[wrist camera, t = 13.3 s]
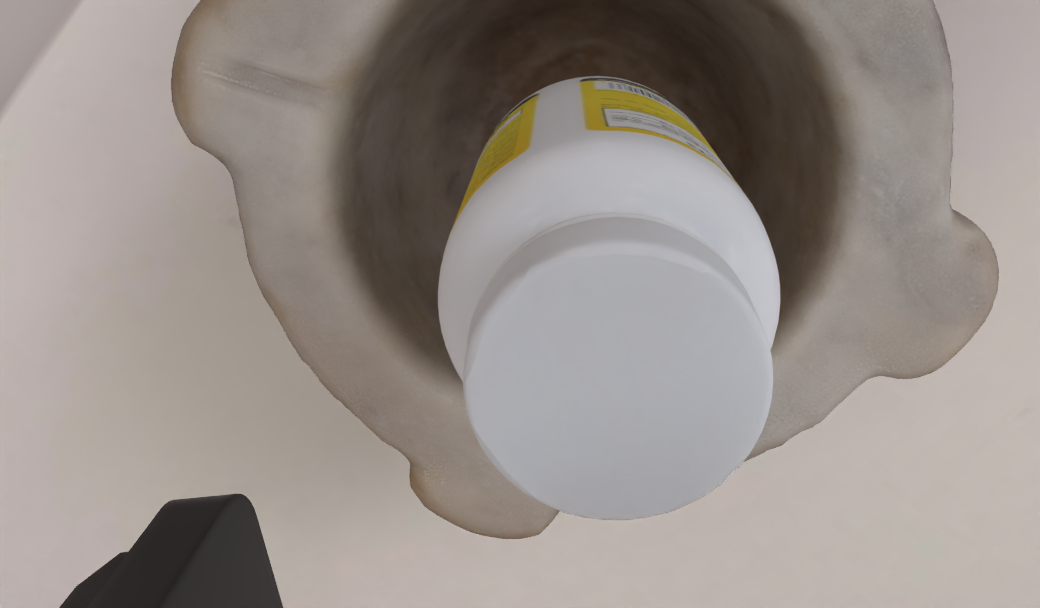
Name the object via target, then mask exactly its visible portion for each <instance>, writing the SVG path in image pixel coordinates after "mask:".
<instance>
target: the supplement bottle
mask: <svg viewBox="0 0 1040 608" xmlns="http://www.w3.org/2000/svg"><path fill="white" fill-rule="evenodd" d="M779 310H780V281H779V273H778V268H777V264H776V259H775V255H774V252H773V249H772V246H771V243H770V240H769V238H768V235H767V233H766V230H765V228H764V226H763V224H762V222H761V219H760V217H759V216H758V214H757V212H756V210H755V208H754V207H753V205H752V203H751V202H750V200H749V199H748V198H747V196H746V195H745V193H744V192H743V191H742V189H741V188H740V186H739V185H738V184H737V183H736V181H735V180H734V179H733V177H732V175H731V174H730V173H729V171H728V170H727V169H726V167H725V166H724V164H723V163H722V162H721V160H720V159H719V158H718V156H717V155H716V153H715V152H714V150H713V149H712V148H711V146H710V145H709V144H708V142H707V141H706V139H705V138H704V137H703V135H702V134H701V132H700V131H699V130H698V128H697V127H696V125H695V124H694V123H693V121H692V120H691V119H690V118H689V117H688V116H687V115H686V114H685V113H684V112H683V111H682V110H681V109H679V108H678V107H677V106H676V105H675V104H674V103H672V102H671V101H669V100H668V99H667V98H665V97H664V96H662V95H661V94H659V93H657V92H656V91H654V90H652V89H650V88H648V87H646V86H643V85H641V84H638V83H635V82H632V81H629V80H625V79H621V78H614V77H604V76H588V77H578V78H573V79H568V80H564V81H560V82H557V83H554V84H552V85H549V86H547V87H545V88H543V89H541V90H539V91H537V92H535V93H533V94H532V95H530V96H529V97H527V98H525V99H524V100H523V101H521V102H520V103H519V104H518V105H516V106H515V107H514V108H513V109H512V110H511V111H510V112H509V113H508V114H507V115H506V116H505V117H504V118H503V119H502V120H501V122H500V123H499V124H498V125H497V126H496V128H495V129H494V131H493V132H492V134H491V135H490V137H489V139H488V140H487V142H486V144H485V146H484V148H483V150H482V152H481V154H480V157H479V159H478V162H477V164H476V167H475V170H474V173H473V176H472V178H471V181H470V183H469V186H468V188H467V191H466V193H465V196H464V199H463V201H462V204H461V207H460V209H459V212H458V214H457V217H456V219H455V222H454V225H453V227H452V230H451V232H450V235H449V238H448V241H447V244H446V248H445V251H444V255H443V260H442V264H441V268H440V276H439V285H438V311H439V320H440V326H441V332H442V335H443V339H444V342H445V346H446V349H447V351H448V354H449V356H450V358H451V360H452V363H453V365H454V367H455V369H456V371H457V373H458V375H459V377H460V378H461V380H462V382H463V392H464V399H465V406H466V412H467V416H468V419H469V422H470V425H471V428H472V430H473V432H474V434H475V436H476V438H477V440H478V442H479V445H480V447H481V448H482V450H483V451H484V453H485V454H486V456H487V457H488V459H489V460H490V461H491V463H492V464H493V465H494V466H495V467H496V469H497V470H498V471H499V472H500V473H501V474H502V475H503V476H504V477H505V478H506V479H507V480H508V481H509V482H511V483H512V484H513V485H515V486H516V487H517V488H518V489H520V490H521V491H522V492H523V493H525V494H526V495H528V496H530V497H532V498H534V499H535V500H537V501H539V502H541V503H543V504H545V505H547V506H550V507H552V508H554V509H557V510H559V511H562V512H564V513H569V514H573V515H577V516H581V517H586V518H594V519H602V520H630V519H639V518H646V517H651V516H655V515H659V514H663V513H667V512H670V511H673V510H676V509H678V508H680V507H683V506H685V505H687V504H689V503H692V502H694V501H695V500H697V499H699V498H701V497H703V496H705V495H706V494H708V493H709V492H710V491H712V490H713V489H715V488H716V487H717V486H719V485H720V484H721V483H723V482H724V481H725V480H726V479H727V478H728V477H729V476H730V475H731V474H732V473H733V472H734V471H735V470H736V469H738V468H739V467H740V465H741V464H742V463H743V461H744V460H745V459H746V458H747V456H748V455H749V454H750V452H751V451H752V449H753V448H754V446H755V444H756V442H757V440H758V438H759V436H760V435H761V433H762V430H763V428H764V425H765V422H766V419H767V417H768V413H769V409H770V405H771V400H772V390H773V364H772V356H771V351H770V350H771V348H772V345H773V341H774V337H775V333H776V329H777V325H778V320H779Z"/></svg>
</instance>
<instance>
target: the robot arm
mask: <svg viewBox="0 0 1040 608" xmlns="http://www.w3.org/2000/svg"><path fill="white" fill-rule="evenodd" d="M60 608H283V606H282V602H281V599H280V595H279V592H278V588H277V585H276V581H275V578H274V574H273V571H272V567H271V564H270V560H269V557H268V554H267V550H266V547H265V543H264V540H263V536H262V533H261V529H260V526H259V522H258V519H257V515H256V513H255V510H254V507H253V505H252V503H251V502H250V500H249V499H248V498H247V497H246V496H244V495H242V494H231V495H220V496H210V497H199V498H189V499H178V500H172V501H169V502H167V503H166V504H165V505H164V506H163V507H162V508H161V509H160V511H159V512H158V513H157V515H156V516H155V517H154V519H153V520H152V521H151V523H150V524H149V525H148V527H147V528H146V529H145V531H144V532H143V533H142V535H141V536H140V537H139V539H138V540H137V541H136V543H135V544H134V545H133V547H132V548H131V549H130V551H129V552H123V553H120V554H118V555H117V556H116V557H114V558H113V559H112V560H110V561H109V562H108V563H107V564H105V565H104V566H103V567H101V568H100V569H99V570H97V571H96V572H95V573H93V574H92V575H91V576H90V577H88V578H87V579H86V580H84V581H83V582H82V583H80V584H79V585H78V586H76V588H75V589H74V590H73V591H72V593H71V594H70V595H69V596H68V598H67V599H66V600H65V601H64V603H63V604H62V605H61V606H60Z"/></svg>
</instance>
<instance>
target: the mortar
mask: <svg viewBox="0 0 1040 608" xmlns="http://www.w3.org/2000/svg"><path fill="white" fill-rule="evenodd" d="M588 76H604V77H614V78H621V79H625V80H629V81H632V82H635V83H638V84H641V85H643V86H646V87H648V88H650V89H652V90H654V91H656V92H657V93H659V94H661V95H662V96H664V97H665V98H667V99H668V100H669V101H671V102H672V103H674V104H675V105H676V106H677V107H678V108H679V109H681V110H682V111H683V112H684V113H685V114H686V115H687V116H688V117H689V118H690V119H691V120H692V121H693V123H694V124H695V125H696V127H697V128H698V130H699V131H700V132H701V134H702V135H703V137H704V138H705V139H706V141H707V142H708V144H709V145H710V146H711V148H712V149H713V150H714V152H715V153H716V155H717V156H718V158H719V159H720V160H721V162H722V163H723V164H724V166H725V167H726V169H727V170H728V171H729V173H730V174H731V175H732V177H733V179H734V180H735V181H736V183H737V184H738V185H739V186H740V188H741V189H742V191H743V192H744V193H745V195H746V196H747V198H748V199H749V200H750V202H751V203H752V205H753V207H754V208H755V210H756V212H757V214H758V216H759V217H760V219H761V222H762V224H763V226H764V228H765V230H766V233H767V235H768V238H769V240H770V243H771V246H772V249H773V252H774V255H775V259H776V264H777V268H778V273H779V281H780V310H779V320H778V325H777V329H776V333H775V337H774V341H773V345H772V348H771V350H770V351H771V356H772V364H773V390H772V400H771V405H770V409H769V413H768V417H767V419H766V422H765V425H764V428H763V430H762V433H761V435H760V436H759V438H758V440H757V442H756V444H755V446H754V448H753V449H752V451H751V452H750V454H749V455H748V456H747V458H746V459H745V460H744V461H743V462H745V461H747V460H749V459H751V458H753V457H755V456H757V455H759V454H762V453H764V452H765V451H767V450H769V449H772V448H775V447H778V446H781V445H783V444H784V443H785V442H786V441H787V440H789V439H790V438H792V437H793V436H795V435H796V434H798V433H800V432H801V431H803V430H806V429H809V428H811V427H813V426H814V425H816V424H818V423H820V422H821V421H822V420H823V419H824V418H825V417H826V416H827V415H828V414H829V413H830V412H831V411H832V410H833V409H834V408H835V407H836V406H837V405H838V404H839V403H840V402H842V401H843V400H844V399H845V398H846V397H847V396H848V395H849V394H850V393H851V392H852V391H853V390H855V389H856V388H857V387H858V386H859V385H861V384H862V383H863V382H865V381H866V380H867V379H870V378H873V377H876V376H887V377H892V378H897V379H911V378H917V377H921V376H923V375H926V374H929V373H932V372H934V371H935V370H937V369H939V368H940V367H942V366H943V365H944V364H946V363H947V362H948V361H949V360H950V359H951V358H952V357H954V356H955V355H956V354H957V353H958V352H959V351H960V350H961V349H962V348H963V347H964V346H965V345H966V344H967V342H968V341H969V340H970V339H971V338H972V337H973V336H974V334H975V333H976V332H977V331H978V329H979V328H980V327H981V325H982V324H983V323H984V321H985V320H986V318H987V316H988V314H989V313H990V311H991V309H992V306H993V302H994V299H995V297H996V293H997V289H998V278H999V269H998V262H997V257H996V254H995V251H994V249H993V247H992V244H991V242H990V240H989V239H988V237H987V236H986V234H985V233H984V232H983V231H982V230H981V229H980V228H979V227H978V226H977V225H976V224H975V223H973V222H972V221H971V220H969V219H968V218H966V217H965V216H963V215H962V214H960V213H959V212H957V211H955V210H953V209H952V208H951V205H950V183H951V179H950V168H951V161H952V133H953V82H952V71H951V61H950V55H949V52H948V48H947V43H946V39H945V34H944V31H943V27H942V24H941V21H940V18H939V15H938V13H937V11H936V8H935V5H934V2H933V0H201V1H200V2H199V3H198V5H197V6H196V7H195V9H194V10H193V11H192V13H191V14H190V16H189V17H188V18H187V20H186V22H185V24H184V26H183V27H182V30H181V34H180V37H179V40H178V44H177V48H176V53H175V57H174V62H173V68H172V78H171V91H172V102H173V106H174V110H175V113H176V116H177V119H178V121H179V123H180V125H181V127H182V128H183V130H184V132H185V134H186V135H187V137H188V139H189V140H190V141H191V143H192V144H194V145H196V146H198V147H200V148H202V149H203V150H205V151H207V152H209V153H210V154H212V155H213V156H214V157H216V158H217V159H218V160H220V161H221V162H222V163H223V164H224V165H225V166H226V168H227V169H228V171H229V172H230V174H231V177H232V179H233V183H234V188H235V194H236V199H237V204H238V209H239V217H240V221H241V224H242V228H243V233H244V238H245V245H246V249H247V257H248V260H249V263H250V266H251V268H252V271H253V273H254V276H255V278H256V281H257V283H258V286H259V288H260V290H261V292H262V295H263V296H264V298H265V300H266V301H267V303H268V304H269V306H270V307H271V309H272V311H273V312H274V314H275V316H276V317H277V319H278V320H279V322H280V324H281V325H282V327H283V329H284V331H285V333H286V335H287V337H288V339H289V341H290V342H291V344H292V345H293V347H294V348H295V350H296V351H297V353H298V355H299V356H300V357H301V359H302V360H303V361H304V362H305V363H306V364H307V365H308V366H309V367H310V368H311V369H312V371H313V372H314V373H315V374H316V376H317V377H318V379H319V380H320V381H321V383H322V384H323V385H324V386H325V387H326V389H327V390H328V391H329V392H330V393H331V394H332V395H333V396H334V397H335V398H336V399H338V400H339V401H341V402H342V403H343V405H344V406H345V407H346V408H348V409H349V410H350V411H351V412H352V413H353V414H354V415H355V416H357V417H358V418H359V419H360V420H361V421H362V422H363V423H364V424H365V425H366V426H367V427H368V428H369V429H370V430H372V431H373V432H374V433H375V434H376V435H377V436H378V437H379V438H380V439H381V440H382V441H384V442H385V443H387V444H388V445H390V446H392V447H394V448H395V449H397V450H398V451H400V452H401V453H402V454H403V455H405V456H406V458H407V459H408V460H409V462H410V486H411V488H412V490H413V491H414V493H415V494H416V495H417V497H418V498H419V500H420V501H421V502H422V504H423V505H424V506H425V507H426V508H427V509H429V510H430V511H432V512H433V513H435V514H436V515H438V516H440V517H442V518H443V519H445V520H447V521H449V522H451V523H452V524H454V525H456V526H459V527H461V528H463V529H465V530H467V531H470V532H473V533H476V534H480V535H484V536H489V537H496V538H502V539H521V538H527V537H531V536H535V535H538V534H540V533H541V532H542V531H543V530H544V529H545V528H546V527H547V526H548V525H549V524H550V522H551V521H552V520H553V519H554V518H555V517H556V515H557V514H558V512H559V510H557V509H554V508H552V507H550V506H547V505H545V504H543V503H541V502H539V501H537V500H535V499H534V498H532V497H530V496H528V495H526V494H525V493H523V492H522V491H521V490H520V489H518V488H517V487H516V486H515V485H513V484H512V483H511V482H509V481H508V480H507V479H506V478H505V477H504V476H503V475H502V474H501V473H500V472H499V471H498V470H497V469H496V467H495V466H494V465H493V464H492V463H491V461H490V460H489V459H488V457H487V456H486V454H485V453H484V451H483V450H482V448H481V447H480V445H479V442H478V440H477V438H476V436H475V434H474V432H473V430H472V428H471V425H470V422H469V419H468V416H467V412H466V406H465V399H464V392H463V382H462V380H461V378H460V377H459V375H458V373H457V371H456V369H455V367H454V365H453V363H452V360H451V358H450V356H449V354H448V351H447V349H446V346H445V342H444V339H443V335H442V332H441V326H440V320H439V311H438V285H439V276H440V268H441V264H442V260H443V255H444V251H445V248H446V244H447V241H448V238H449V235H450V232H451V230H452V227H453V225H454V222H455V219H456V217H457V214H458V212H459V209H460V207H461V204H462V201H463V199H464V196H465V193H466V191H467V188H468V186H469V183H470V181H471V178H472V176H473V173H474V170H475V167H476V164H477V162H478V159H479V157H480V154H481V152H482V150H483V148H484V146H485V144H486V142H487V140H488V139H489V137H490V135H491V134H492V132H493V131H494V129H495V128H496V126H497V125H498V124H499V123H500V122H501V120H502V119H503V118H504V117H505V116H506V115H507V114H508V113H509V112H510V111H511V110H512V109H513V108H514V107H515V106H516V105H518V104H519V103H520V102H521V101H523V100H524V99H525V98H527V97H529V96H530V95H532V94H533V93H535V92H537V91H539V90H541V89H543V88H545V87H547V86H549V85H552V84H554V83H557V82H560V81H564V80H568V79H573V78H578V77H588Z"/></svg>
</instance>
